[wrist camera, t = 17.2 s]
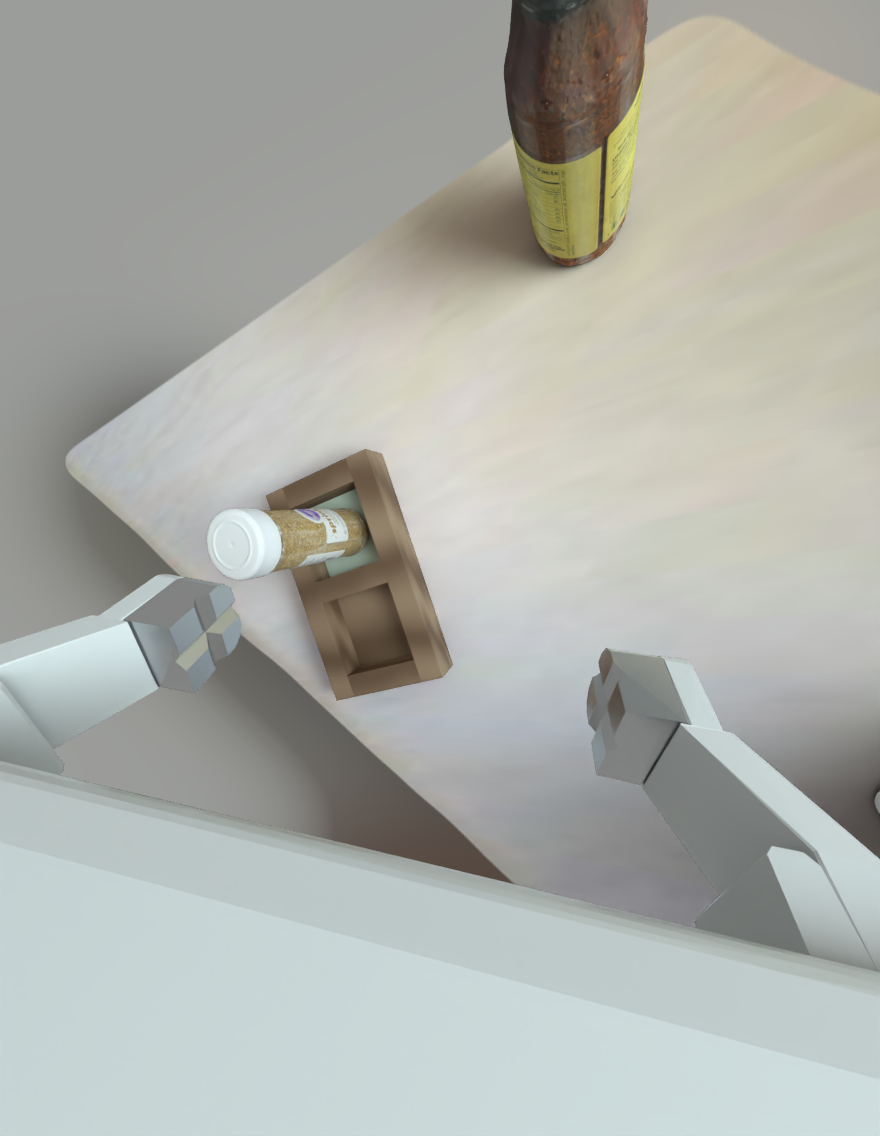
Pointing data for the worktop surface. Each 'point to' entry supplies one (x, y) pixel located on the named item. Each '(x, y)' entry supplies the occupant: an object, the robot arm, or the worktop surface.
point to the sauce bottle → (575, 117)
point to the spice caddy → (367, 585)
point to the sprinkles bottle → (281, 539)
